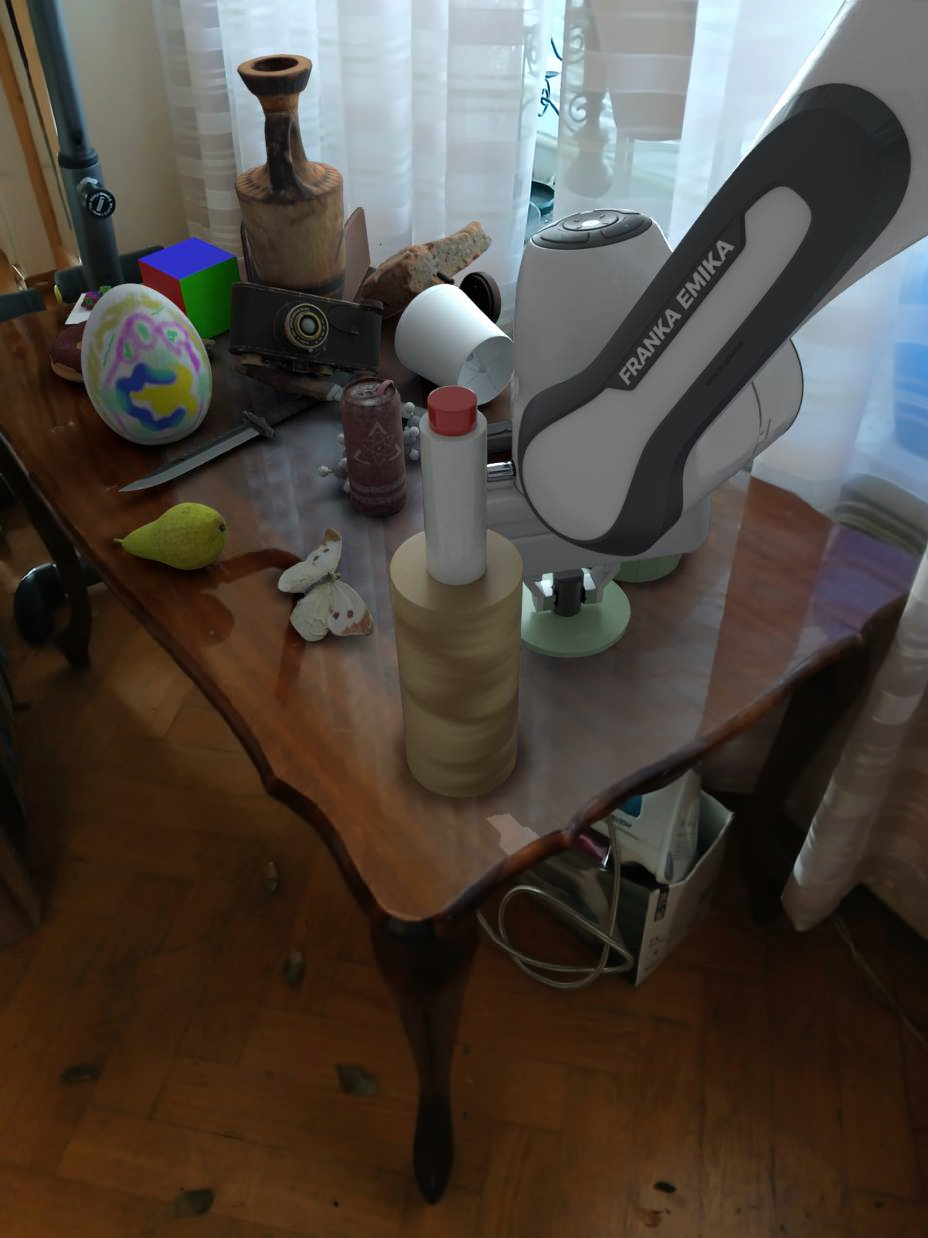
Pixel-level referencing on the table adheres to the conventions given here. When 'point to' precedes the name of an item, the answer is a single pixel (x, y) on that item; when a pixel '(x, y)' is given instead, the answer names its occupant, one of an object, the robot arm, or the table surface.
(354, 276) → the letter holder
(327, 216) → the vase
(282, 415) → the knife
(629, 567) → the pot
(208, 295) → the cube
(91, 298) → the thin white sheet
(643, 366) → the robot arm
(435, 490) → the spice bottle
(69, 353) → the donut
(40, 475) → the table surface
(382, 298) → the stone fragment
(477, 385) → the light fixture
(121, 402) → the decorative egg
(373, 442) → the can
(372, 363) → the camera
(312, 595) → the butterfly
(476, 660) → the pedestal
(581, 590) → the pot lid
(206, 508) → the fruit
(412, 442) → the molecular model
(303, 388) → the knife
